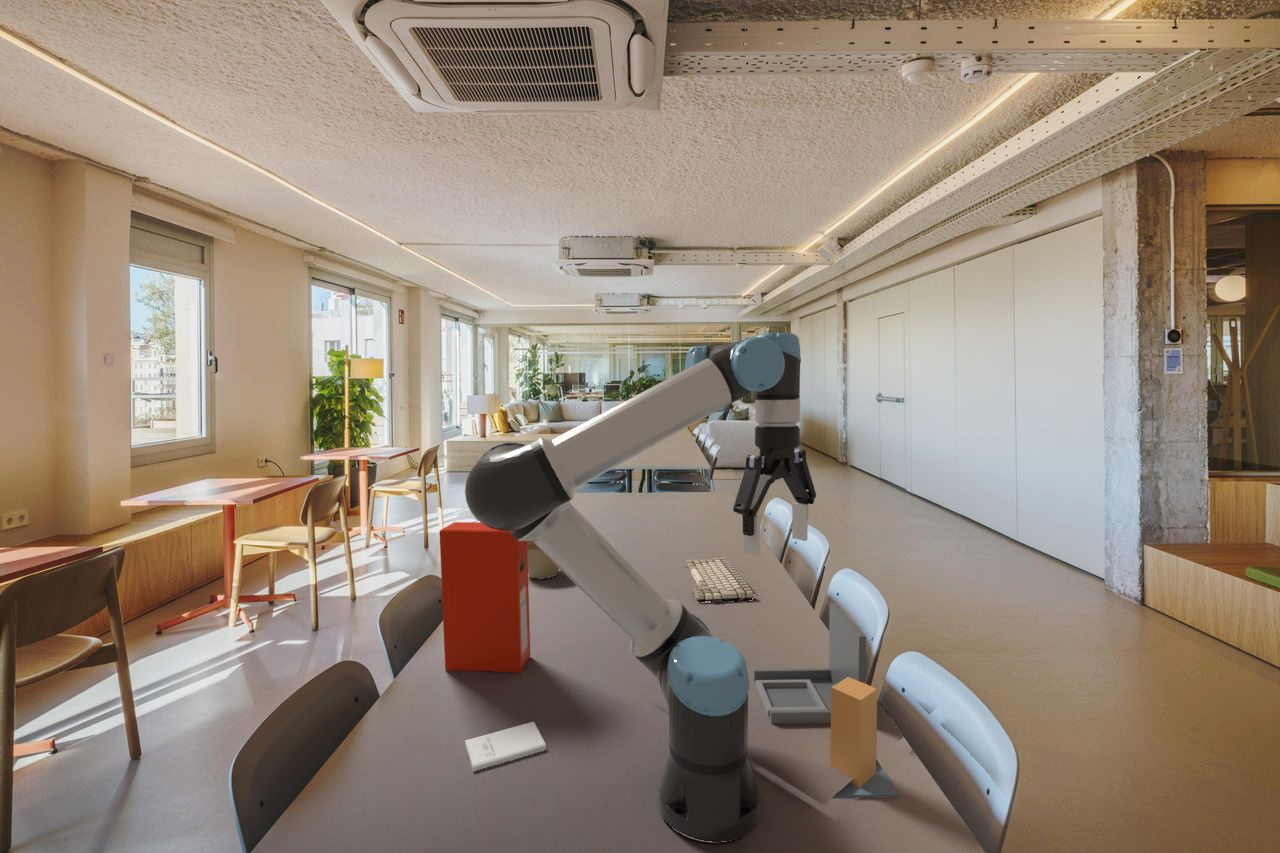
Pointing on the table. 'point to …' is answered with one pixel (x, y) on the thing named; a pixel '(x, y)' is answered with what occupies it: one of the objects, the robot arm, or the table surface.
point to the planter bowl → (539, 563)
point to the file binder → (484, 599)
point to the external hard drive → (504, 746)
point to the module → (854, 729)
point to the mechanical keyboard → (718, 581)
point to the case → (814, 677)
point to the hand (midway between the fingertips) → (776, 546)
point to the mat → (870, 787)
